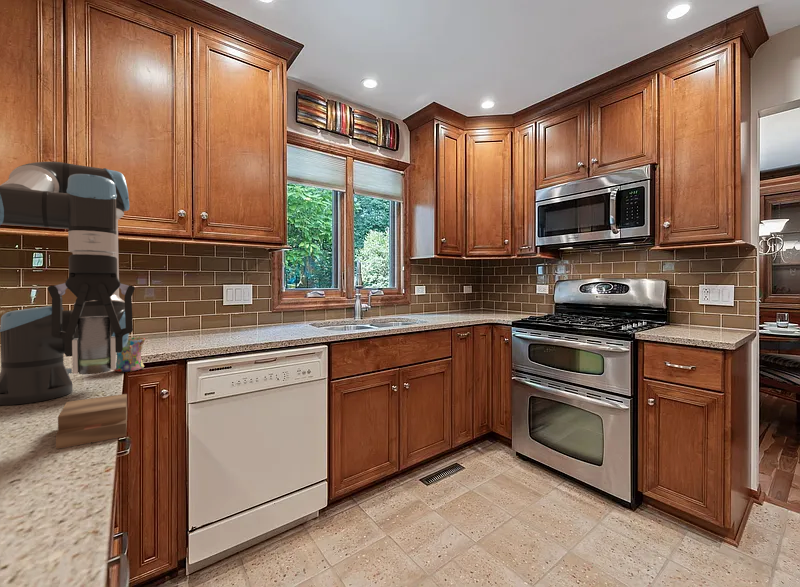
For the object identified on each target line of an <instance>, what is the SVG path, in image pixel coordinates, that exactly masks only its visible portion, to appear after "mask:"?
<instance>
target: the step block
mask: <svg viewBox="0 0 800 587" xmlns="http://www.w3.org/2000/svg"><path fill="white" fill-rule="evenodd" d="M127 421H128V393H123V394H122V393H121V394H114V395H109V396H99V397H93V398H85V399H78V400H77V399H76V400H70V401H66V402H65V404H64V406H63V408H62V410H61V412H60V413H59V415H58V416H57V432H56V434H55V449H56V450H59V449H63V448H69V447H74V446H80V445H86V444H90V443H91V442H92V443H97V442H102V441H107V440H113V439H118V438H124V437H127V426H128V422H127ZM92 443H91V444H92Z"/></svg>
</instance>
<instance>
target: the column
mask: <svg viewBox="0 0 800 587" xmlns="http://www.w3.org/2000/svg"><path fill="white" fill-rule="evenodd" d="M78 345H79V359H78V366H79V372H78V374H79V375H95V374H97V375H98V374H103V373H108V372H110V371H112V370H111V337H110V320H109V317H108V316H88V317H80V318H79V320H78Z"/></svg>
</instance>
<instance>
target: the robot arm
mask: <svg viewBox="0 0 800 587" xmlns="http://www.w3.org/2000/svg"><path fill="white" fill-rule="evenodd" d="M128 190H129V189H128V186H127V181H126V177H125V176H124V174H123V173H122V172H120V171H117V170H112V169H108V168H100V167H95V166H86V165H82V164H81V165H80V164H73V163H68V162H62V161H37V162H31V163H30V162H29V163H26V164H22V165H19V166H17V167H15V168H14V169H13V170H11V172H10V173H9V174H8V180H6V181H5V182H3V183H1V184H0V226H1V225H4V226H5V225H6V226H16V227H17V226H18V227H19V226H22V227H37V228H49V229H58V230H59V229H62V230H68V231H67V232H68V235H67V239H68V240H67V241H68V243H67V244H68V245H67V246H68V250H67V251H69V253H71V254H70V255H69V256H68V277H67V279H66V280H65V282H64V283H59V284H57V285H56V284H55V285H49V286H48V287H47V291H48V293H49V296H50V297H51V305H50V306H41V307H32V308H31V307H30V308H25V309H19V310H12V311H8V312H4V313H3V314H2V315H1V317H0V406H12V405H14V406H15V405H24V404H31V403H38V402H44V401H48V400H52V399H53V400H54V399H56V398H60V397H64V396H67V395H69V394H71V393H73V391H74V390H73V389H74V386H73V381H72V378H71V377H70V374H68V372H67V370H66V366H65V362H64V360H65V359H64V355H65V356H66V357H72V361H71V362H72V364H71V366H72V375H74V374H79V366H78V359H79V345H78V320H79V318H80V317H88V316H108V317H109V320H110V337H111V370H110V371H113V370H114V371H115V370H116V362H117V353H116V352H122V350H123V347H125V346H126V345H127V342H128V338H130V337H129V336H130V334H132V333H133V331H134V325H133V324H134V323H133V322H134V320H133V300H132V299H133V297H132V296H133V294H134V292H135V289H136V288H135V286H134V285H128V284H124V283H121V280H120V274H119V273H120V270H119V269H120V267H119V266H120V265H119V263H120V262H119V261H120V260H119V258H120V257H119V220H120V219H121V218H123V217H124V216H125V212H127V211H129V210H130V197H129V191H128ZM67 289H68V290H69V291H70V292H72V294H73V295H74V296H75V297H76V300H75V302H74V303H73V309H72V310H71V309H69V310H64V307H63V296H64V295H65V294H66V290H67ZM120 292H121V294H122V295H124V299H122V298H121V297H120Z"/></svg>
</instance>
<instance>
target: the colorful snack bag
mask: <svg viewBox="0 0 800 587" xmlns="http://www.w3.org/2000/svg"><path fill="white" fill-rule="evenodd" d="M145 341H146V338H145V337H128V342H127V345H126V346H125V347H123V350H122V352H116V370H114V372H120V373H127V372H128V373H129V372H135V371H136V372H137V371H139V370H141V369H144V367H145V365H144V363H143V360H142V349H143V345H144V343H145Z"/></svg>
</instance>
